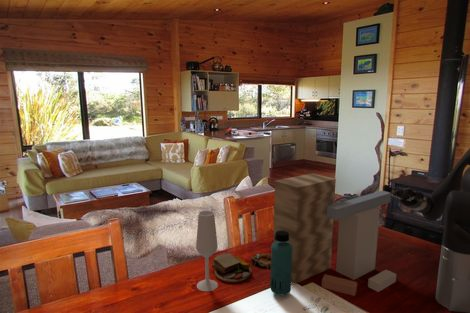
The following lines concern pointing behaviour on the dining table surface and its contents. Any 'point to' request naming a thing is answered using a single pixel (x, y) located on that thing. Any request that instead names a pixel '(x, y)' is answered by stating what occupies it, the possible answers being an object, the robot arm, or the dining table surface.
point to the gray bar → (358, 205)
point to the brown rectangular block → (339, 285)
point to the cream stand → (357, 243)
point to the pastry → (262, 260)
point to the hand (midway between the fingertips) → (395, 189)
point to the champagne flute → (206, 245)
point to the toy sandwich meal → (231, 268)
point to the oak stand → (306, 222)
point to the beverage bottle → (281, 264)
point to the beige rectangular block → (381, 280)
